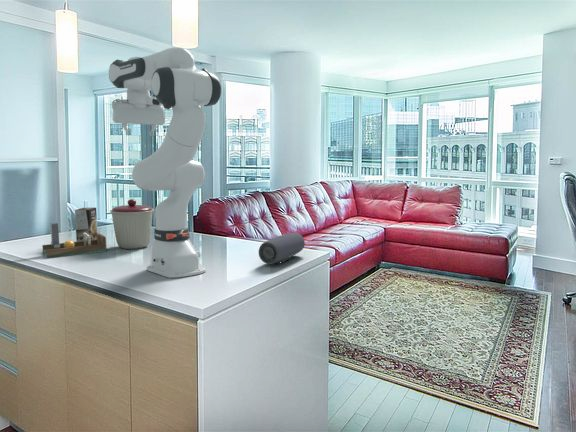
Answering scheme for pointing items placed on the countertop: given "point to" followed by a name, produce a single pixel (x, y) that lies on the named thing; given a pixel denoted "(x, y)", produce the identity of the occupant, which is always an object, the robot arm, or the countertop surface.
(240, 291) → the countertop surface
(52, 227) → the striker
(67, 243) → the ball
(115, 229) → the canister
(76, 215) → the coffee box
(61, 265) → the countertop surface
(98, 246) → the brown wooden tray
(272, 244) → the bluetooth speaker
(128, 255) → the countertop surface
